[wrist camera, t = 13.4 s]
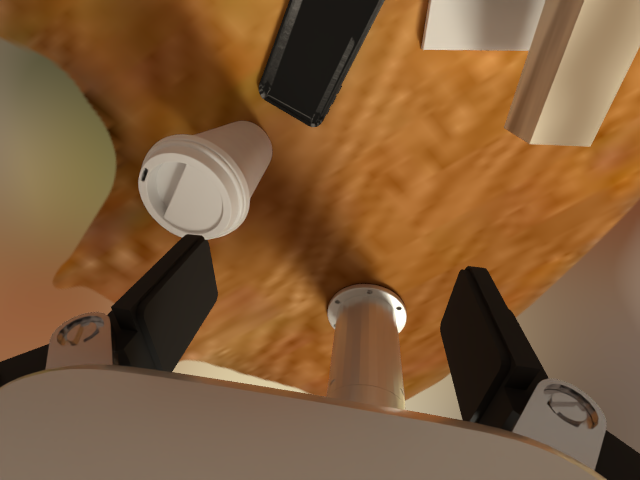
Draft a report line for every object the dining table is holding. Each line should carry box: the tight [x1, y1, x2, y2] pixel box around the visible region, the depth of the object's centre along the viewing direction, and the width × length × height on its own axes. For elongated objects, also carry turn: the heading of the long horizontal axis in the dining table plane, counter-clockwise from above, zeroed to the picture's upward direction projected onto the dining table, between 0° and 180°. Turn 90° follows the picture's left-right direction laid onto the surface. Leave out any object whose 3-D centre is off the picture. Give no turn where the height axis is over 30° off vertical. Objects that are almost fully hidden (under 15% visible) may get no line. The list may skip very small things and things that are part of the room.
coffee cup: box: [138, 121, 272, 240], centre depth 31 cm, size 10×10×15 cm
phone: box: [259, 0, 385, 127], centre depth 30 cm, size 8×1×15 cm
